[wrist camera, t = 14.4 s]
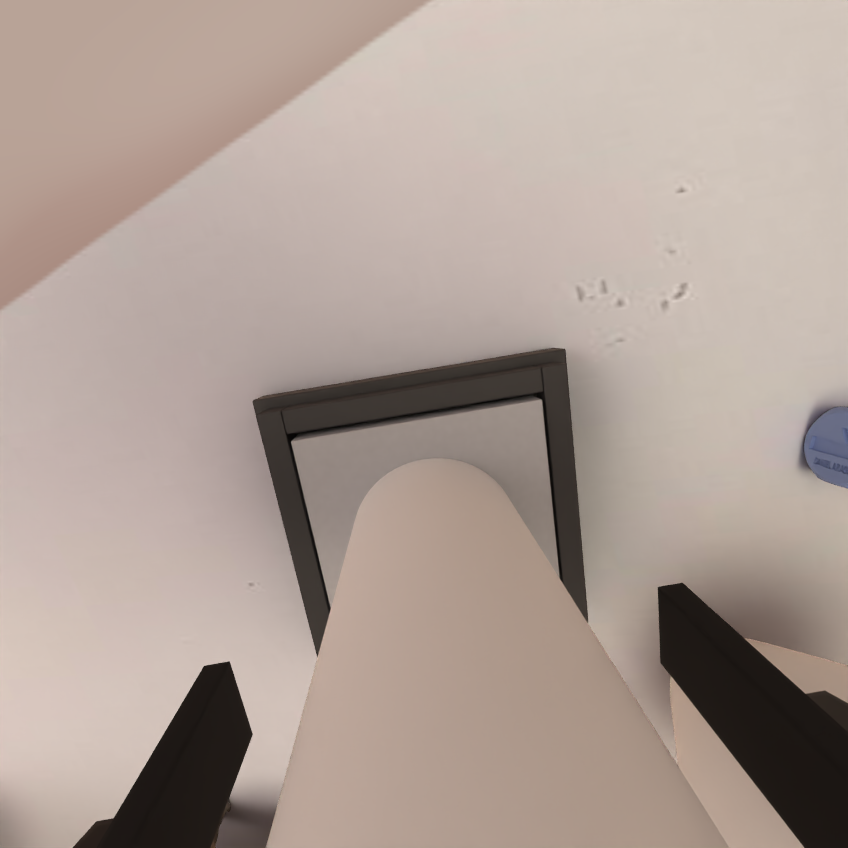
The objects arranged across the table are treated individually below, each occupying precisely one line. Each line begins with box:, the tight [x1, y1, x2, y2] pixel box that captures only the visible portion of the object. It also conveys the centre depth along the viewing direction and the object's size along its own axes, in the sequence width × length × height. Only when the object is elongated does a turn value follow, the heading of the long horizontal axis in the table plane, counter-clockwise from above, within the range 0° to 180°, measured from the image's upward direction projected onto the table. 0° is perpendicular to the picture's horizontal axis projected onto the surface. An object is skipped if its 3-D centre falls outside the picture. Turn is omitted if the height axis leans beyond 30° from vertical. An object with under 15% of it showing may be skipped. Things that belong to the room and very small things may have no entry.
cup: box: [266, 458, 729, 848], centre depth 13 cm, size 8×8×16 cm
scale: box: [253, 348, 588, 658], centre depth 23 cm, size 16×16×3 cm
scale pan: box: [291, 395, 560, 607], centre depth 22 cm, size 12×12×2 cm
